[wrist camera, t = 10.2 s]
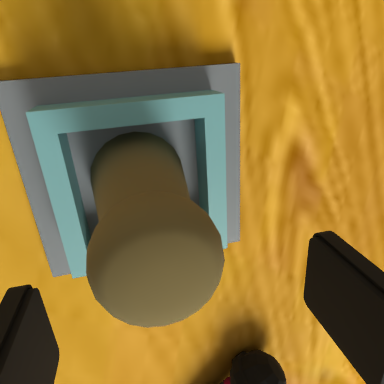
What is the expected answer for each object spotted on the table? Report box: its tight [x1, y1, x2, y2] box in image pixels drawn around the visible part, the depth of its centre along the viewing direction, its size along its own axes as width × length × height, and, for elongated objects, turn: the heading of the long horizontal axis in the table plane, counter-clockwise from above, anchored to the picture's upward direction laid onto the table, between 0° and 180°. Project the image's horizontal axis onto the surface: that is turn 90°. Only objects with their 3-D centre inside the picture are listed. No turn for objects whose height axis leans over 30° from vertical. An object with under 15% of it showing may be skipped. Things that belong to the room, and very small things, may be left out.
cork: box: [86, 131, 225, 327], centre depth 15 cm, size 6×6×11 cm
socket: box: [0, 63, 240, 278], centre depth 19 cm, size 14×13×3 cm
